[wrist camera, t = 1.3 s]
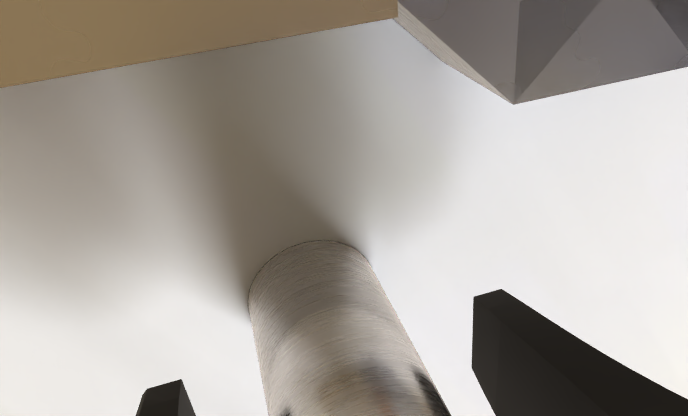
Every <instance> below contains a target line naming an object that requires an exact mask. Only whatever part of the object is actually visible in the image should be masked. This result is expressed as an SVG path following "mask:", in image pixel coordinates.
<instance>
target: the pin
mask: <svg viewBox="0 0 688 416" xmlns="http://www.w3.org/2000/svg"><path fill="white" fill-rule="evenodd" d="M248 307H249V313H250V318H251V323H252V329H253V334H254V339H255V345H256V350H257V356H258V361H259V366H260V372H261V377H262V382H263V388H264V393H265V399H266V404H267V409H268V415H269V416H451V414H450V412H449V411H448V409H447V407H446V405H445V403H444V401H443V399H442V398H441V396H440V394H439V392H438V390H437V388H436V387H435V385H434V383H433V381H432V379H431V377H430V375H429V374H428V372H427V370H426V368H425V366H424V364H423V362H422V361H421V359H420V357H419V355H418V353H417V351H416V349H415V348H414V346H413V344H412V342H411V340H410V338H409V336H408V335H407V333H406V331H405V329H404V327H403V325H402V323H401V322H400V320H399V318H398V316H397V314H396V312H395V310H394V309H393V307H392V305H391V303H390V301H389V299H388V298H387V296H386V294H385V292H384V290H383V288H382V286H381V285H380V283H379V281H378V279H377V277H376V275H375V273H374V272H373V270H372V268H371V266H370V264H369V263H368V261H367V260H366V258H365V257H364V256H363V255H362V254H361V253H360V252H358V251H357V250H355V249H354V248H352V247H350V246H348V245H345V244H342V243H339V242H333V241H312V242H306V243H302V244H299V245H296V246H293V247H291V248H288V249H286V250H284V251H283V252H281V253H279V254H278V255H276V256H275V257H273V258H272V259H271V260H270V261H269V262H267V263H266V264H265V265H264V267H263V268H262V269H261V270H260V271H259V273H258V274H257V276H256V277H255V279H254V281H253V283H252V285H251V288H250V291H249V297H248Z"/></svg>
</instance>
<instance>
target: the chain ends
mask: <svg viewBox="0 0 688 416" xmlns="http://www.w3.org/2000/svg"><path fill="white" fill-rule="evenodd" d="M391 18H393V19H394V20H395V21H396V22H397V23H398V24H400V25H401V26H402V27H403V28H404V29H405V30H406V31H408V32H409V33H410V34H411V35H412V36H413V37H415V38H416V39H417V40H418V41H419V42H420V43H422V44H423V45H424V46H425V47H426V48H427V49H429V50H430V51H431V52H432V53H433V54H434V55H435V56H437V57H438V58H439V59H440V60H441V61H442V62H444V63H446V64H447V65H449V66H451V67H452V68H454V69H455V70H457V71H459V72H460V73H462V74H464V75H465V76H467V77H469V78H470V79H472V80H474V81H475V82H477V83H479V84H480V85H482V86H484V87H485V88H487V89H489V90H490V91H492V92H494V93H495V94H497V95H498V96H500V97H502V98H503V99H505V100H507V101H508V102H510V103H512V104H513V105H514V104H518V103H523V102H527V101H532V100H536V99H541V98H546V97H550V96H555V95H559V94H564V93H569V92H573V91H578V90H583V89H587V88H592V87H596V86H601V85H606V84H610V83H615V82H620V81H624V80H629V79H633V78H638V77H643V76H647V75H652V74H656V73H661V72H666V71H670V70H675V69H680V68H684V67H688V0H0V88H2V87H8V86H14V85H19V84H25V83H31V82H36V81H42V80H47V79H53V78H59V77H64V76H70V75H76V74H81V73H87V72H93V71H98V70H104V69H109V68H115V67H121V66H126V65H132V64H138V63H143V62H149V61H154V60H160V59H166V58H171V57H177V56H183V55H188V54H194V53H200V52H205V51H211V50H216V49H222V48H228V47H233V46H239V45H245V44H250V43H256V42H261V41H267V40H273V39H278V38H284V37H290V36H295V35H301V34H307V33H312V32H318V31H323V30H329V29H335V28H340V27H346V26H352V25H357V24H363V23H368V22H374V21H380V20H385V19H391Z"/></svg>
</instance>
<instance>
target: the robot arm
mask: <svg viewBox="0 0 688 416" xmlns="http://www.w3.org/2000/svg"><path fill="white" fill-rule="evenodd" d="M472 369H473V371H474V373H475V375H476V378H477V380H478V382H479V384H480V386H481V388H482V390H483V392H484V394H485V396H486V398H487V400H488V402H489V403H490V405H491V407H492V409H493V411H494V413H495V415H496V416H688V399H686V398H684V397H682V396H680V395H678V394H676V393H674V392H672V391H670V390H668V389H666V388H664V387H662V386H661V385H659V384H657V383H655V382H653V381H651V380H650V379H648V378H646V377H644V376H642V375H640V374H639V373H637V372H635V371H633V370H631V369H629V368H628V367H626V366H624V365H622V364H621V363H619V362H617V361H615V360H614V359H612V358H610V357H609V356H607V355H605V354H604V353H602V352H600V351H598V350H597V349H595V348H594V347H592V346H590V345H589V344H587V343H585V342H584V341H582V340H580V339H579V338H577V337H576V336H574V335H572V334H571V333H569V332H568V331H566V330H564V329H563V328H561V327H560V326H558V325H557V324H555V323H553V322H552V321H550V320H549V319H547V318H546V317H544V316H543V315H541V314H539V313H538V312H536V311H535V310H533V309H532V308H530V307H529V306H527V305H526V304H524V303H523V302H521V301H519V300H518V299H516V298H515V297H513V296H512V295H510V294H509V293H507V292H505V291H504V290H502V289H500V290H496V291H493V292H489V293H486V294H482V295H478V296H475V297H474V303H473V341H472ZM136 416H196V415H195V413H194V410H193V407H192V405H191V402H190V400H189V397H188V395H187V392H186V390H185V387H184V385H183V382H182V379H180V380H177V381H173V382H170V383H166V384H163V385H159V386H156V387H152V388H148V389H147V390H146V391H145V392H144V394H143V395H142V398H141V402H140V405H139V408H138V411H137V414H136Z"/></svg>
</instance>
